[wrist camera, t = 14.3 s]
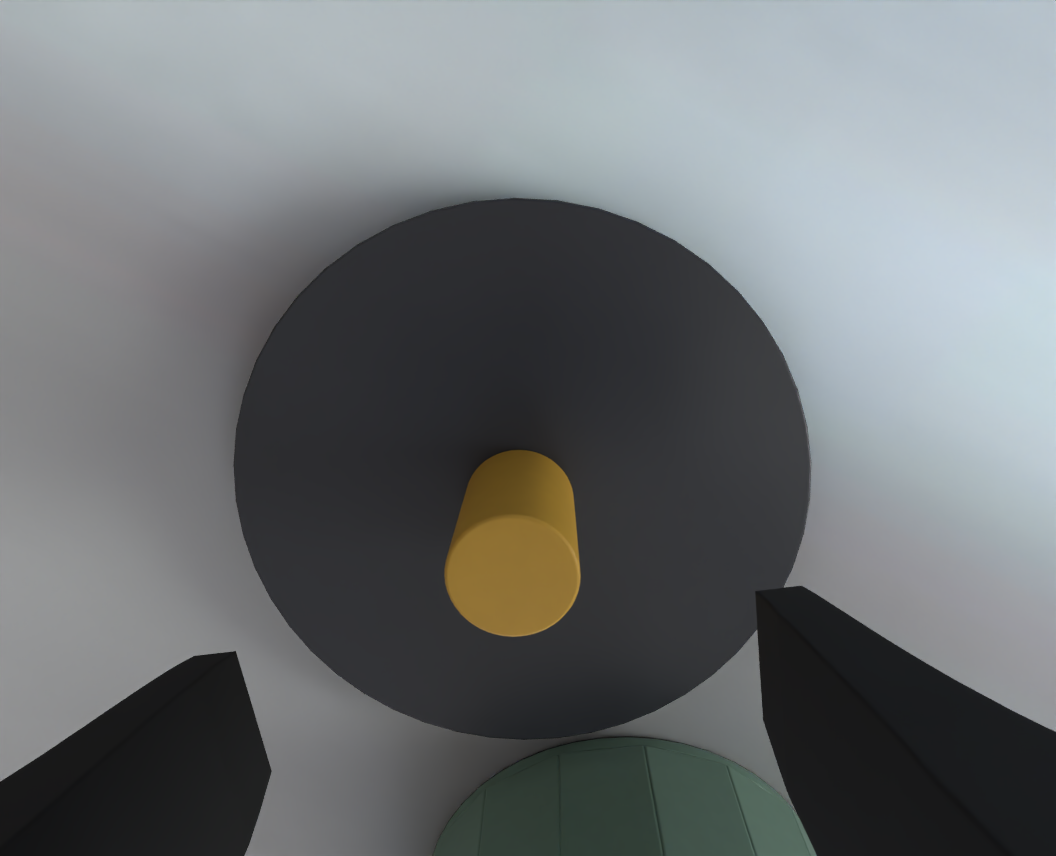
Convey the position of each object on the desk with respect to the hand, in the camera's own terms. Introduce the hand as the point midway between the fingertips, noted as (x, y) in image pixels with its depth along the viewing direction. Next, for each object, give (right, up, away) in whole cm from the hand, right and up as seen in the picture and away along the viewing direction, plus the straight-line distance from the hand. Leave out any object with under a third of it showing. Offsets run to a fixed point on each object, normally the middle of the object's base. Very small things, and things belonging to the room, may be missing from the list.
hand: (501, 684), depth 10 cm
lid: (0, +2, +7) cm, 7 cm away
